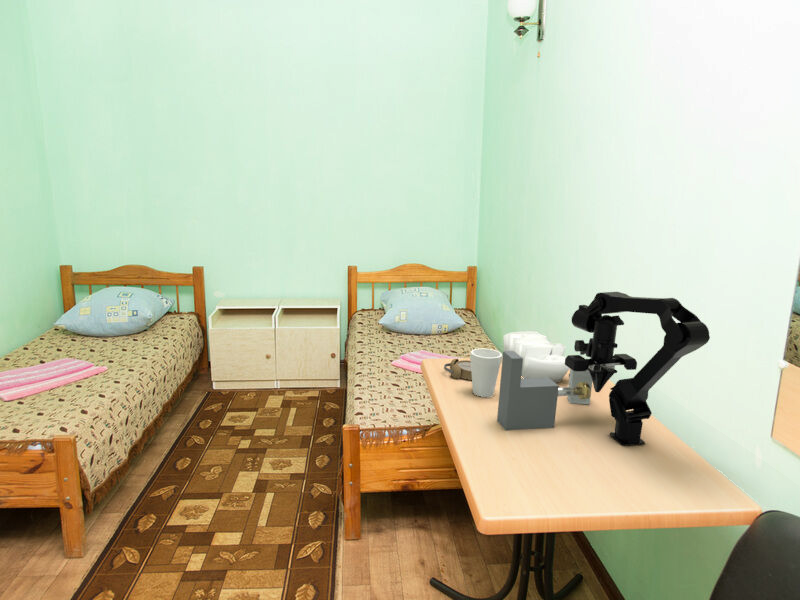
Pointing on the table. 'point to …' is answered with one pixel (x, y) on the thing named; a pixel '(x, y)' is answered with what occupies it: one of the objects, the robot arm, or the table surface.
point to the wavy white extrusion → (537, 355)
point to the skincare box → (574, 380)
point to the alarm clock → (460, 369)
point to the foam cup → (484, 371)
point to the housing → (525, 397)
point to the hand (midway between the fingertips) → (597, 391)
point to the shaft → (576, 391)
